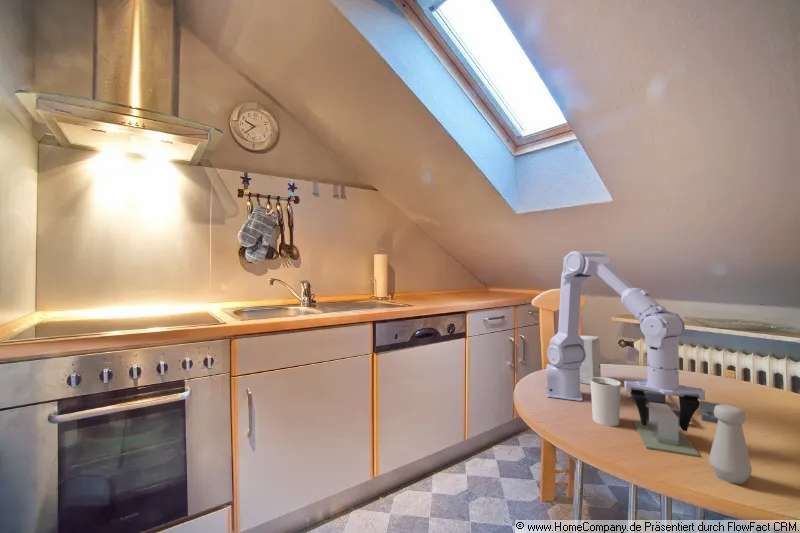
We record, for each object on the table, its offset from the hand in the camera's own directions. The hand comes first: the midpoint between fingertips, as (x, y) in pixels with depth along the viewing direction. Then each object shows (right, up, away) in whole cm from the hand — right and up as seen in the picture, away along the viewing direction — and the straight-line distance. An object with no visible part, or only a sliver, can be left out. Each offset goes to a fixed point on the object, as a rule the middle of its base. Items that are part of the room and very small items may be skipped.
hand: (663, 426), depth 80 cm
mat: (0, -3, 0) cm, 3 cm away
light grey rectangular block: (0, -2, 0) cm, 2 cm away
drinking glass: (-8, -3, +9) cm, 12 cm away
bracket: (+21, -3, +12) cm, 25 cm away
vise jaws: (+9, -3, +15) cm, 17 cm away
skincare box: (+4, -3, +40) cm, 40 cm away
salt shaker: (+1, -3, -15) cm, 15 cm away
